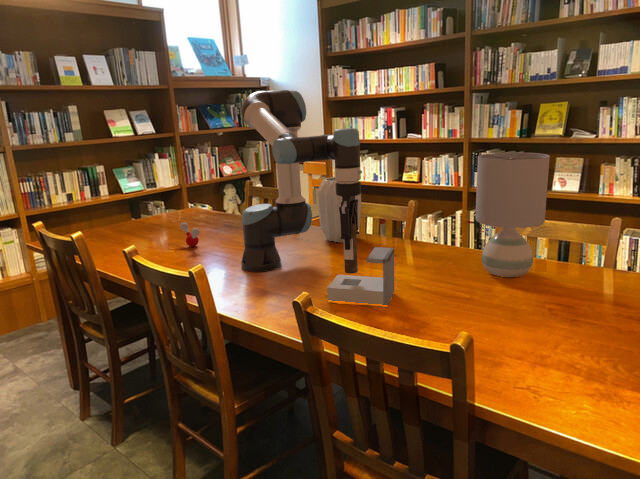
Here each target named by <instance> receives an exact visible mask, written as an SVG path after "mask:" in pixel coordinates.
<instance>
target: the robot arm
mask: <svg viewBox="0 0 640 479" xmlns="http://www.w3.org/2000/svg"><path fill="white" fill-rule="evenodd" d="M240 114H241V119H242V120H243V122H244V123H245V124H246V125H247V126H248V127H249V128H251V129H253V130H256V131H257V132H258V133H259V134H260V136H262V137H263V139H265V141H266V142H268V144H269V145H271V147H272V148H271V150H272V151H271V152H272V157H273V158H274V162H275V163H276V171H277V172H276V173H277V186H278V187H277V188H278V197H277V198H276V200H275V202H274V203H275V206H273V205H272V204H271V203H258V204H255V205H251V206H248V207H247V208H245V209H244V210H243V211H242V213H241V218H242V220H241V224H242V231H243V232H242V233H243V242H244V243H243V245H244V249H243V254H242V258H241V262H240V263H241V269H242V270H244V271H247V272H250V273H251V272H253V273H254V272H255V273H256V272H257V273H258V272H259V273H260V272H261V273H262V272H268V271H273V270H276V269H278V268H280V267H281V266H282V261H281V260H282V259H281V256H280V253H279V252H278V251H279V250H278V249H277V246H276V238H279V237H285V236H291V235H299V234H303V233H306V232H307V231H309V230H310V228H311V226H312V222H313V211H312V207H311V205H310V204H309V203H308V202H306V198H305V197H304V196H302V188H301V187H302V186H301V184H302V183H301V172H300V171H301V170H300V168H301V167H300V163H308V162H319V161H328V160H329V161H334V177H335V181H337V183H336V195H338V196H342V202H341V207H339V212H340V224H341V237H340V238H341V239H343V241H344V242H343V259H345V260H353V238H352V223H355V224H356V234H357V235H359V234H360V231H359V230H358V199H355V196H357V195H360V194H361V195H362V183H361V182H360V180H361V174H363V171H362V169H361V140H360V132H359V129H358V128H352V127H351V128H350V127H349V128H348V127H347V128H336V129H335V130H334V131H333V134H330V133H327V134H321V135H314V136H313V135H312V136H298V132H299V130H300V129H301V128H302V123H303V122H304V121H306V119H307V118H306V116H307V107H306V102H305V99H304V96H302V94H301V93H300V92H299V91H298V90H293V89H292V90H291V89H281V90H259V91H255V92H252V93H250V94H249V95H248V96H247V97H246V98H245V99H244V101H243V102H242V104H241V110H240Z"/></svg>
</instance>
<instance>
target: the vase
mask: <svg viewBox="0 0 640 479" xmlns="http://www.w3.org/2000/svg"><path fill="white" fill-rule="evenodd" d="M336 183H337V181H335V176H333V177H332V176H331V177H326V178H323V180H322V181H321V182H320V185H319V186H318V189H317V191H316V197H317V200H316V201H317V206H318V207H317V210H318V217H319V218H318V219H319V223H320V224H319V225H320V230H321V231H322V233H323V235H324V237H325V239H326V240H327V241H329V242H330V241H334V242H333V243H336V242H338V243H344V241H343V239H341V238H340V237H341V224H340V212H339V207H341V202H342V196H338V195H336ZM355 199H358V231H359V230H360V227H361V213H362V210H361V209H362V208H361V207H362V193H361V194H360V195H357V196H355Z"/></svg>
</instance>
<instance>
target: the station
mask: <svg viewBox="0 0 640 479" xmlns="http://www.w3.org/2000/svg"><path fill="white" fill-rule="evenodd" d="M366 263H367V264H368V263H371V264H382V277H379V276H377V277H376V276H365V275H350V274H349V275H348V274H337V275H336V276H335V277H334V279H333V280H332V281H331V282H330V284H329V285H328V286H327V287H326V288H327V290H326V291H327V292H326V293H327V294H326V295H327V301H328V300H332V301H345V302H356V303H368V304H382V305H388V303H389V301H390V299H391V297H392V295H393V292H394V293H395V248H394V247H378V246H375V247H374V248H373V249H372V250H371V252H370V253H369V255H368V256H367V257H366ZM393 296H394V295H393ZM392 298H393V297H392ZM391 300H392V299H391ZM390 302H391V301H390ZM389 304H390V303H389Z"/></svg>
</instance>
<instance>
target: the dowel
mask: <svg viewBox="0 0 640 479" xmlns="http://www.w3.org/2000/svg"><path fill="white" fill-rule="evenodd" d="M357 235H358V234H356V224H355V223H352V238H353V260H345V259H344V258H343V259H344V260H343V261H344V273H346V274H349V275H350V274H352V275H353V274H356V273H358V272H359V268H358V241H357V240H358V239H357V238H358V237H357Z"/></svg>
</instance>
